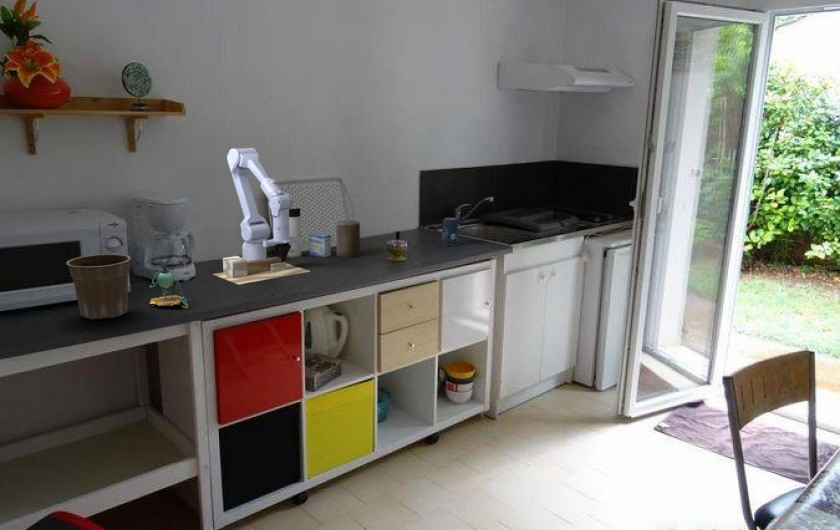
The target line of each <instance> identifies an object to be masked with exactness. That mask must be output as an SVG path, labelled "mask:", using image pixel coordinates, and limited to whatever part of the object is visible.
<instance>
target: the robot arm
mask: <svg viewBox="0 0 840 530" xmlns="http://www.w3.org/2000/svg"><path fill="white" fill-rule="evenodd" d="M226 156H227V157H226V159H227V164H228V166H229V170H230V172H231V176H232V180H233V184H234V186H235V187H234V188H235V191H236V194H237V197H238V200H239V204H240V207H241V210H242V213H243V217H244V218H243V220H242V221H241V222H240V224H239V226H240V230H241V232H240V234H241V238H242V240H243V241H244V242H243V244H242V246H241V253H242V258H245V259H247V261H253V260H259V259H265V258H267V248H269V247H272V249H273V250H274V252H275V254H276V257H279V258H281V263H282V262H286V261H287V255H288V252H289V250H290V248H291V245H290V244H289V243H296V242H297V243H299V242H300V237H289V209H292V206H293V200H292V199H293V198H292V197H291V195H290V194H289V193H286V192H285V191H282V189H281V187H280V186H279V184H278V183H277V181H276V180H275V179H274V178H272V177H269V176H268V175H269V174H267V172H266V170H265V168H264V167H263V165H262V164H261V162H260V155H259V153H258V152H257V150H256V149H255V148H254V147H249V148H247V147H245V148H243V147H242V148H231V149H230V150H229V152H228V154H227V155H226ZM249 172H252V174H253V175H254V176H255V178H256V179H257V180H258V181H259V182H260V189H261V190H262V192H263V193H264V195H265V196H266V198H267V199H268V201H269V202H268V207H269V208H270V211H271V215H272V225H273V226H272V227H273V229H272V230H273V238H272V239H269V237H270V235H271V228H270V226H269V224H268V222H267V221H266V218H265V217H264V216H262V215H260V213H259V211H258V208H257V204H256V201H255V196H254V194H253V191H252V187H251V183H250V181H249V177H248V174H249ZM286 263H287V262H286Z"/></svg>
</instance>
